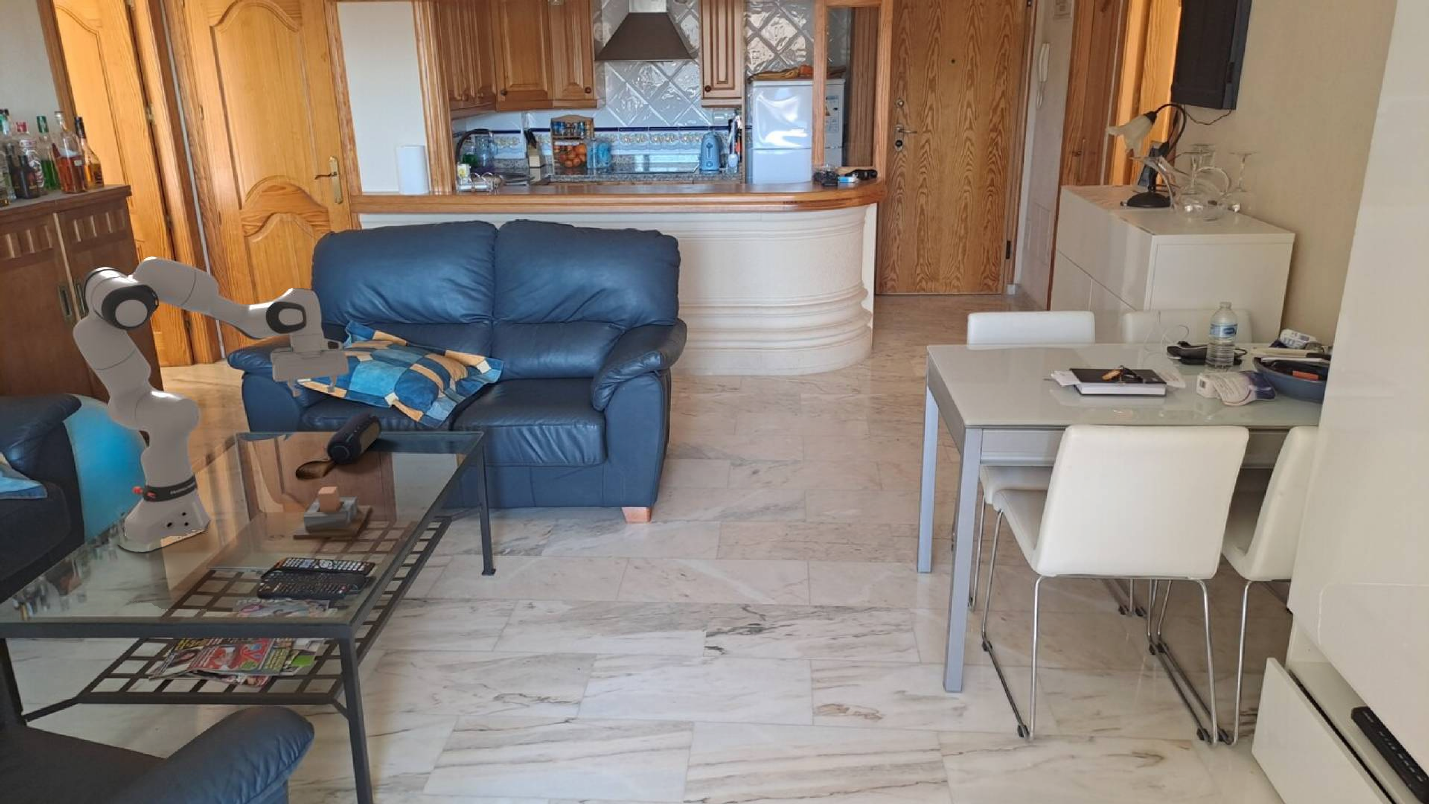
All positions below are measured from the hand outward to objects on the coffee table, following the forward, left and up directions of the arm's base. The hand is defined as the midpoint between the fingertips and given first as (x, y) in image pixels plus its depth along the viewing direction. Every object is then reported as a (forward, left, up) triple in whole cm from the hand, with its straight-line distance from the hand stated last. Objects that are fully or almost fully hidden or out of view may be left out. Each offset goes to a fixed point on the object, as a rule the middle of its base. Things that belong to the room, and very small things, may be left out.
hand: (314, 394), depth 276 cm
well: (-14, -19, -30) cm, 38 cm away
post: (-15, -19, -29) cm, 37 cm away
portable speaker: (+23, +15, -30) cm, 41 cm away
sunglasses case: (+10, +16, -30) cm, 35 cm away
